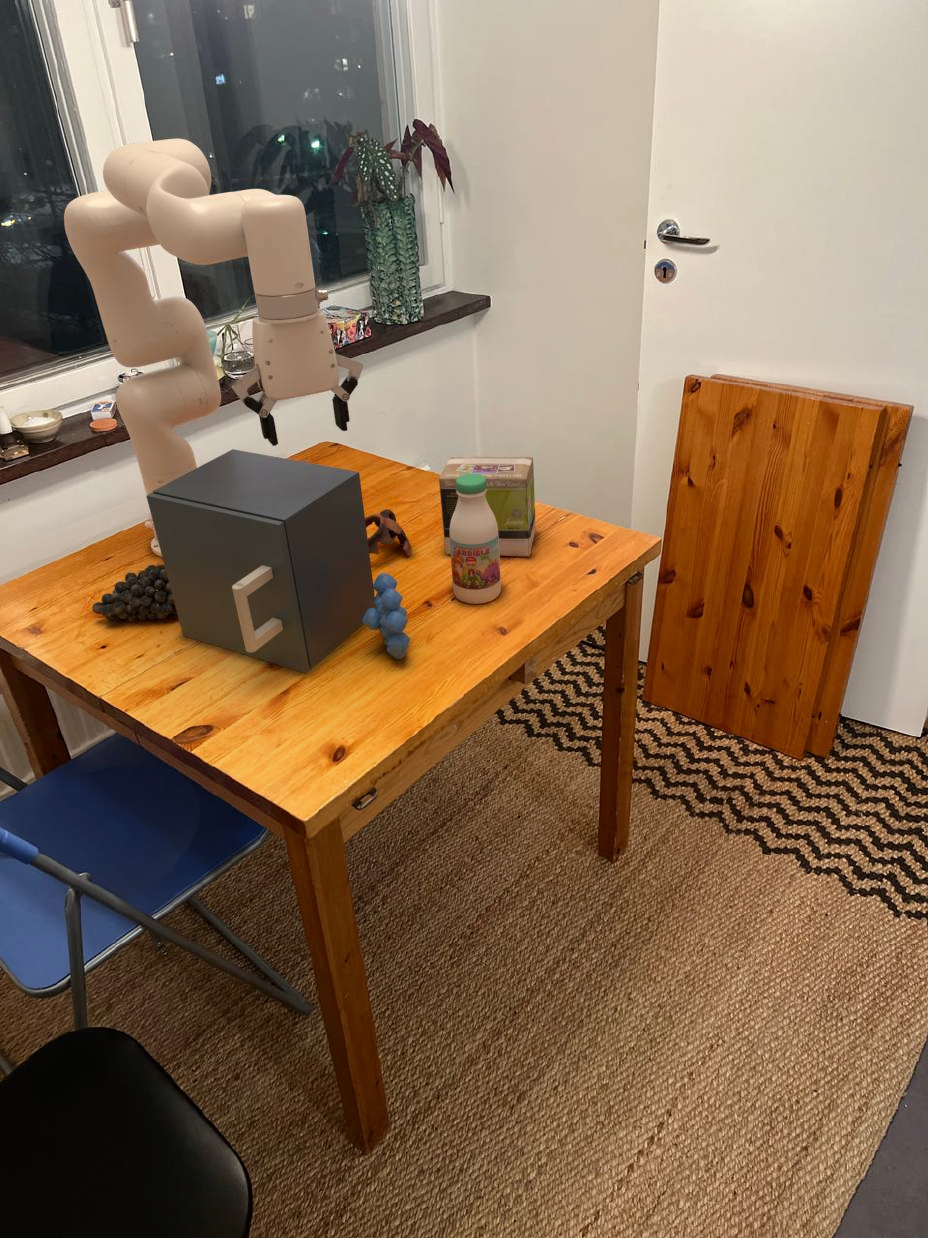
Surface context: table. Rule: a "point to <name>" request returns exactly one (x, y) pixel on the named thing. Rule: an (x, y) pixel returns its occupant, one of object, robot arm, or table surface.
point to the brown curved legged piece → (386, 531)
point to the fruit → (139, 597)
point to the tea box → (496, 498)
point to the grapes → (388, 616)
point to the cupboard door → (231, 580)
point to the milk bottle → (474, 543)
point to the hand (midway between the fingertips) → (307, 435)
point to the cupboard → (300, 533)
